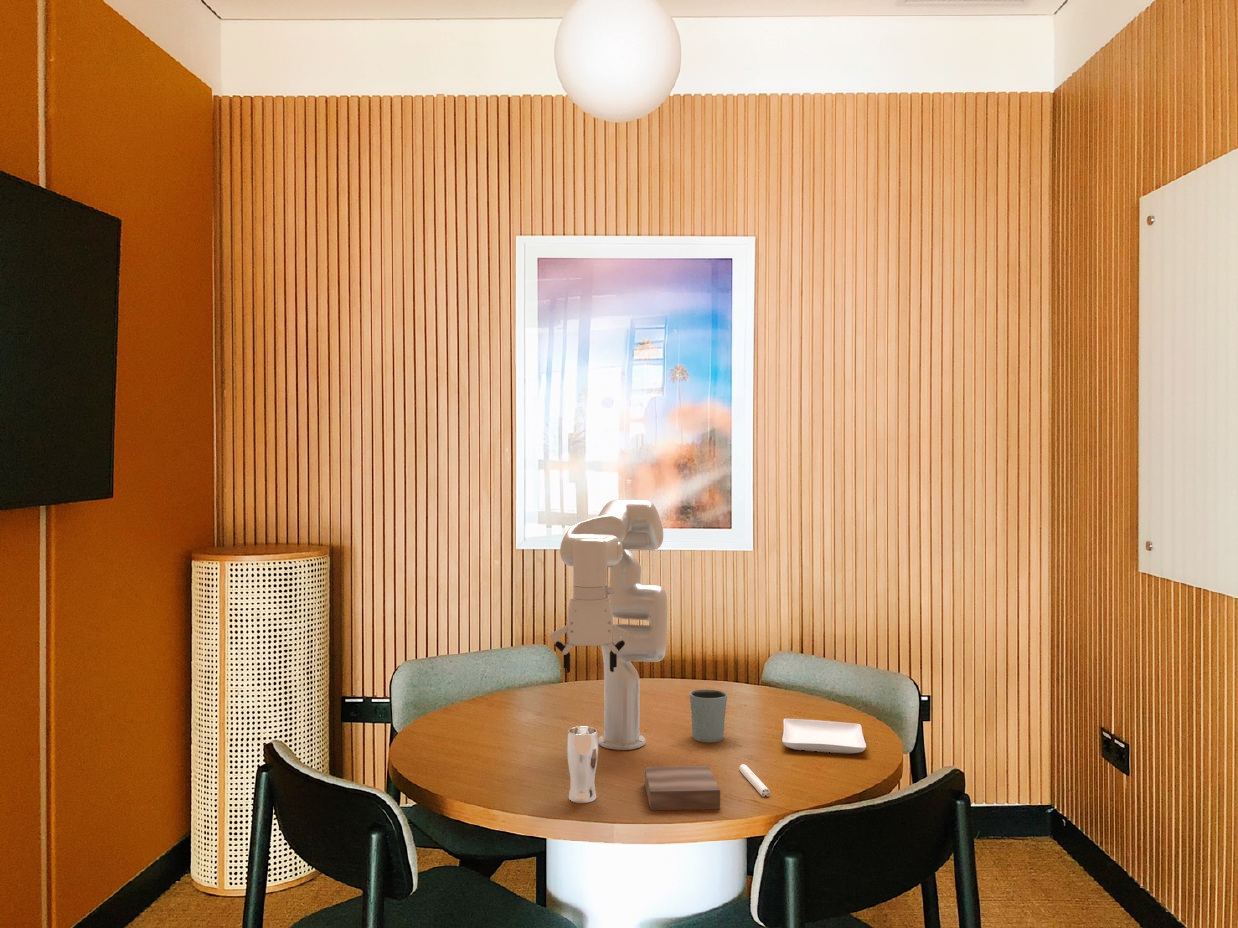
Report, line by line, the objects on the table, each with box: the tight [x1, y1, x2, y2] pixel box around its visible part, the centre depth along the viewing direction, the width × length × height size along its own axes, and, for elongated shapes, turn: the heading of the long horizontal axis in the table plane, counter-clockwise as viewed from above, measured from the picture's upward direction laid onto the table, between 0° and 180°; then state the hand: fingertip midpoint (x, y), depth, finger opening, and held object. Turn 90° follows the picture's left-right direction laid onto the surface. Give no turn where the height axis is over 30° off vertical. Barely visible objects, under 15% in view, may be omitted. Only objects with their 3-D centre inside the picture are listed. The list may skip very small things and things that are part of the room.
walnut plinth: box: [644, 765, 721, 811], centre depth 189 cm, size 15×15×4 cm
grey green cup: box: [689, 689, 728, 743], centre depth 232 cm, size 10×10×12 cm
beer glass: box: [566, 725, 599, 804], centre depth 188 cm, size 7×7×15 cm
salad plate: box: [781, 718, 867, 755], centre depth 228 cm, size 21×21×3 cm
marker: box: [739, 763, 771, 797], centre depth 198 cm, size 18×2×2 cm, turn 10°
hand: (590, 671), depth 187 cm, fingers open, 9 cm apart
